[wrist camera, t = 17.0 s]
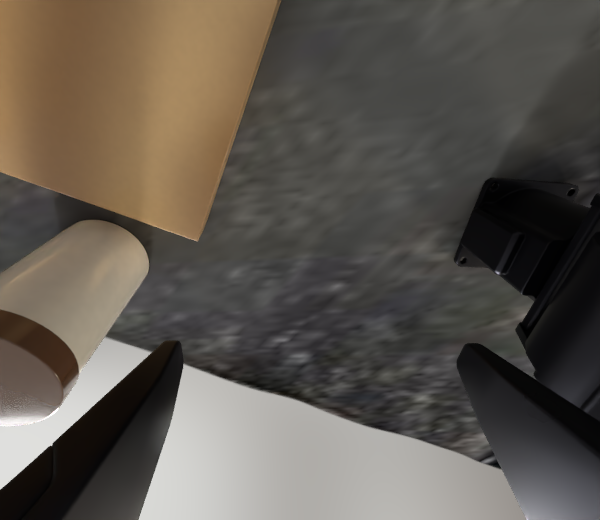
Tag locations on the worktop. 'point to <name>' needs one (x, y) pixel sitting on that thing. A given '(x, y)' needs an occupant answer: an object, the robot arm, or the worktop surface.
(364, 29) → the worktop surface
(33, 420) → the cylinder
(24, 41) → the wooden ramp
